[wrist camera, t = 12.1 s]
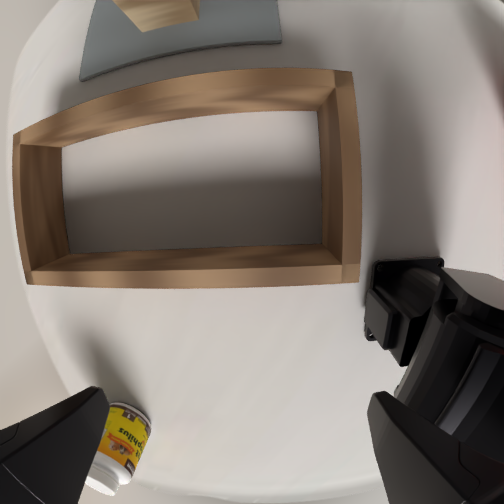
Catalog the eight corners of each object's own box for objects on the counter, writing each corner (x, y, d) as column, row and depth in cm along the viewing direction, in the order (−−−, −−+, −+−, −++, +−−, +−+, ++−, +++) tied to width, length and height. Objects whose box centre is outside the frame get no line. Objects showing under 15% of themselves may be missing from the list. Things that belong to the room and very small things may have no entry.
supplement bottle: (162, 432, 24) (135, 504, 14) (125, 432, 24) (95, 494, 15) (135, 398, 23) (95, 473, 13) (98, 400, 23) (57, 462, 13)
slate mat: (270, -36, 12) (270, -40, 12) (281, 43, 15) (281, 40, 14) (99, 0, 13) (96, -2, 13) (82, 81, 16) (79, 80, 15)
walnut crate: (330, 98, 16) (351, 71, 11) (335, 257, 18) (358, 282, 13) (53, 139, 17) (13, 134, 12) (64, 265, 19) (26, 284, 15)
